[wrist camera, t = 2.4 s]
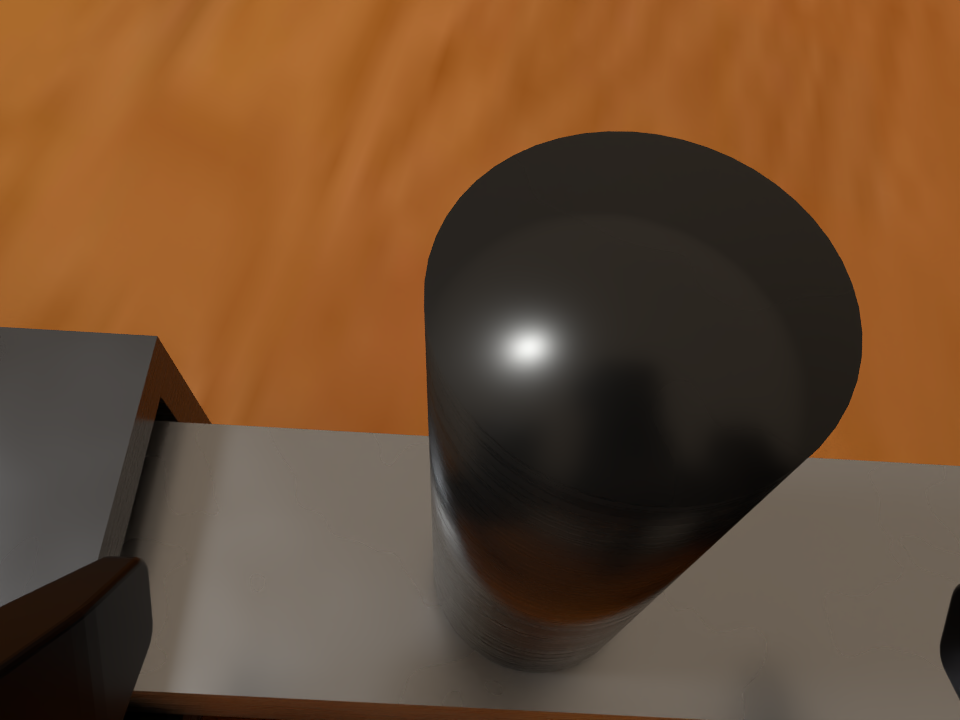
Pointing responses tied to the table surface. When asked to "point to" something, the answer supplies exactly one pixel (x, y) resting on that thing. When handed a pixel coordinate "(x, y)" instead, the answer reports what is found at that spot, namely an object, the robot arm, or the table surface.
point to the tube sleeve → (77, 448)
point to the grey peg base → (571, 485)
